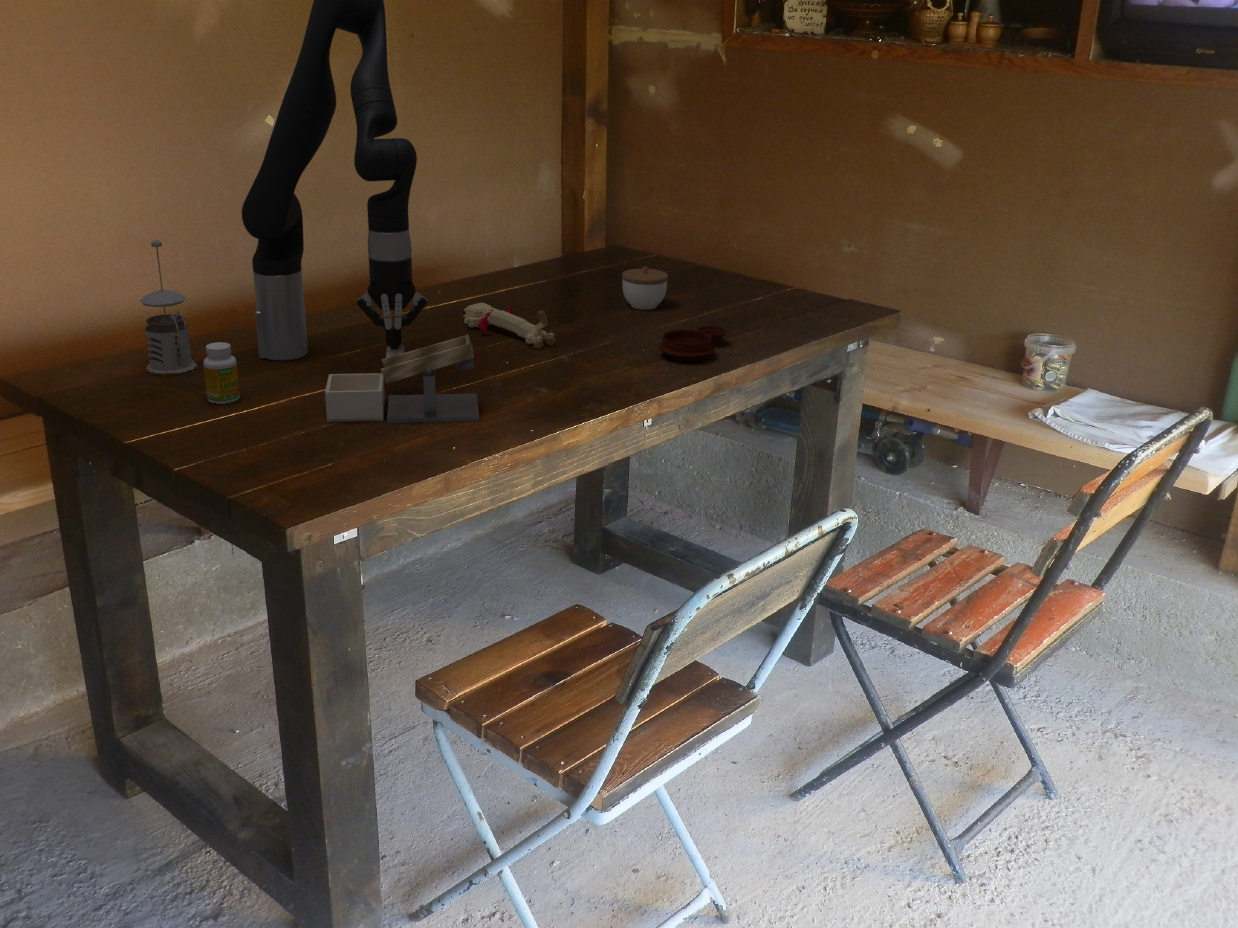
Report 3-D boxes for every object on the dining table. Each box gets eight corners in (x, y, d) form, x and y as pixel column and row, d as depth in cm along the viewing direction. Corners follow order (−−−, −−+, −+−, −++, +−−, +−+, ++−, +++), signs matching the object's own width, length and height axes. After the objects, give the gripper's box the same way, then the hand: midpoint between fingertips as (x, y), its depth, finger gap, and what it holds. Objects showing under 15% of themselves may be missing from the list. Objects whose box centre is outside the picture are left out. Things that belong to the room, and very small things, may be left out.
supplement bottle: (222, 407, 214) (216, 352, 210) (200, 400, 217) (194, 346, 213) (246, 398, 219) (241, 344, 215) (225, 392, 222) (219, 339, 217)
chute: (388, 395, 209) (380, 372, 207) (391, 367, 223) (383, 345, 221) (477, 370, 210) (469, 347, 208) (474, 343, 224) (467, 321, 222)
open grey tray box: (327, 422, 209) (324, 392, 207) (331, 403, 218) (329, 374, 216) (383, 420, 211) (381, 391, 208) (384, 401, 219) (383, 373, 217)
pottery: (647, 358, 248) (648, 338, 246) (693, 335, 263) (695, 316, 262) (697, 369, 242) (698, 348, 240) (741, 345, 258) (743, 326, 256)
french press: (183, 356, 239) (169, 232, 230) (211, 371, 232) (197, 243, 222) (135, 366, 233) (118, 238, 223) (162, 382, 226) (146, 250, 216)
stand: (387, 423, 210) (385, 380, 206) (388, 399, 220) (386, 359, 217) (479, 420, 212) (478, 379, 209) (476, 397, 223) (475, 357, 220)
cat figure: (562, 348, 256) (483, 314, 271) (564, 309, 252) (484, 277, 267) (528, 358, 249) (449, 323, 264) (530, 319, 246) (450, 285, 260)
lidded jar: (674, 305, 285) (676, 266, 281) (651, 315, 277) (653, 275, 273) (636, 297, 290) (637, 259, 286) (612, 307, 282) (613, 268, 278)
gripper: (350, 259, 209) (356, 354, 216) (427, 259, 211) (431, 353, 218) (352, 249, 215) (358, 342, 222) (427, 249, 217) (430, 340, 224)
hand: (394, 347), depth 220 cm, fingers closed
